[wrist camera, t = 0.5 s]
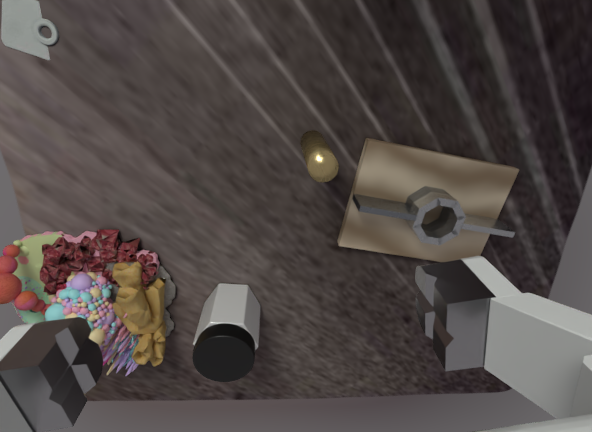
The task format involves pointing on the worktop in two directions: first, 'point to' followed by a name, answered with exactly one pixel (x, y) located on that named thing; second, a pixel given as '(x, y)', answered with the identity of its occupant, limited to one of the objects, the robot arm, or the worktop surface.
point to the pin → (318, 157)
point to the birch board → (410, 178)
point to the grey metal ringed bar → (438, 229)
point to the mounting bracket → (26, 27)
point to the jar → (227, 333)
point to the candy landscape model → (93, 290)
